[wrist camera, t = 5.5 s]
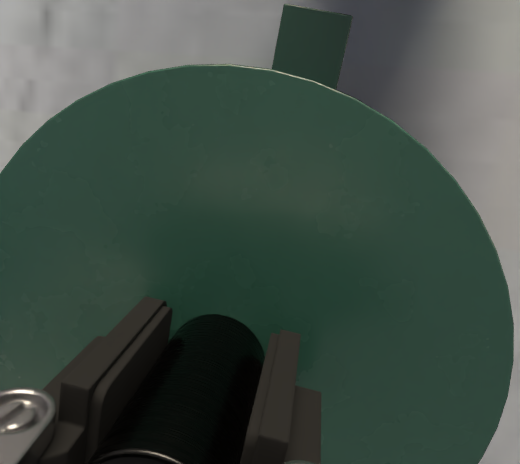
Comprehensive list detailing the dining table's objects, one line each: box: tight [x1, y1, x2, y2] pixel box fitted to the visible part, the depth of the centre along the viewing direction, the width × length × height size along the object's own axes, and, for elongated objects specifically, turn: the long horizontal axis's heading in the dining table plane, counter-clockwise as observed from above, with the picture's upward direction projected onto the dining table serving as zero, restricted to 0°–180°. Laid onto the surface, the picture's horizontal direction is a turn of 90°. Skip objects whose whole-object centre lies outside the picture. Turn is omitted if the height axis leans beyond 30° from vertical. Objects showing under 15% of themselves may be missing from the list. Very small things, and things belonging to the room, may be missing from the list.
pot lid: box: [0, 64, 514, 464], centre depth 10 cm, size 15×15×6 cm
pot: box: [272, 4, 353, 90], centre depth 22 cm, size 14×19×10 cm
